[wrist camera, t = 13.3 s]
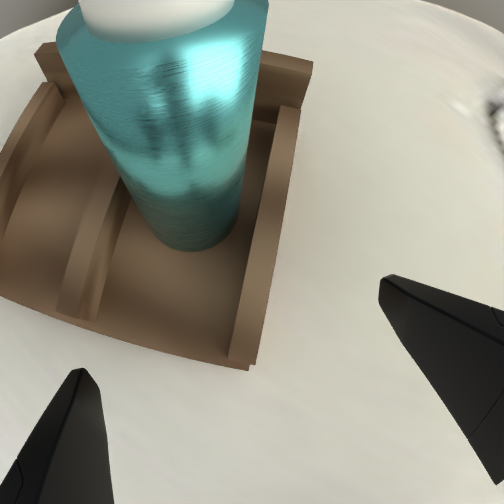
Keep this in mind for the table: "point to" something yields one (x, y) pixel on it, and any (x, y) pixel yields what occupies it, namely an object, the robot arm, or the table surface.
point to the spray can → (171, 104)
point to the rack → (141, 227)
